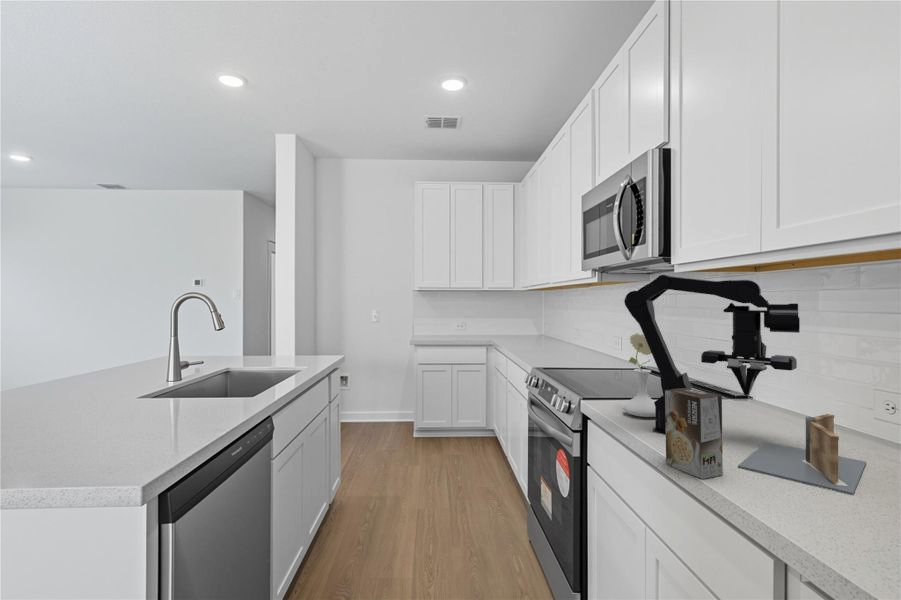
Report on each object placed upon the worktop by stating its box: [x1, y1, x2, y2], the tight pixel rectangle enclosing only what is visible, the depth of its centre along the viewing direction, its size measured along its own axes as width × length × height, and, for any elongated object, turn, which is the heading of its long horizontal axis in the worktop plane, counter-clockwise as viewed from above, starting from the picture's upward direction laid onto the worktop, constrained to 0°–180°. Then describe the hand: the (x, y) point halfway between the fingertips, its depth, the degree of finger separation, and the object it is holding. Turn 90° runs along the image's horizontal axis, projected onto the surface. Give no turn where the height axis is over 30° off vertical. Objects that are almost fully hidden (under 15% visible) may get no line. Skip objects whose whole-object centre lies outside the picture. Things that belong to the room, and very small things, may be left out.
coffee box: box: [665, 388, 724, 480], centre depth 92 cm, size 9×6×16 cm
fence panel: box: [809, 422, 840, 482], centre depth 89 cm, size 11×1×9 cm, turn 158°
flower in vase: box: [622, 332, 656, 418], centre depth 136 cm, size 13×11×25 cm
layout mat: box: [737, 441, 867, 496], centre depth 94 cm, size 18×23×1 cm
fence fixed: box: [805, 413, 835, 463], centre depth 97 cm, size 2×10×10 cm, turn 118°
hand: (746, 395), depth 108 cm, fingers closed
